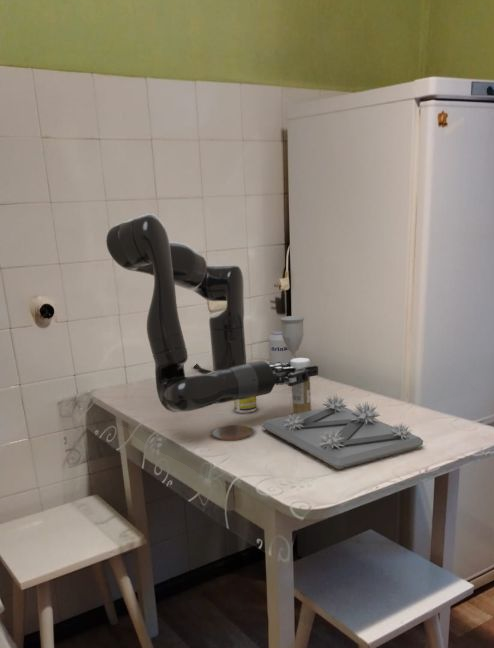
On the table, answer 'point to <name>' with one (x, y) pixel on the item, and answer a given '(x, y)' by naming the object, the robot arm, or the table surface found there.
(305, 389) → the sprinkles bottle
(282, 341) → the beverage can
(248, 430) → the coaster
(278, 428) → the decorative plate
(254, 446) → the table surface
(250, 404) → the supplement bottle
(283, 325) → the chalice
